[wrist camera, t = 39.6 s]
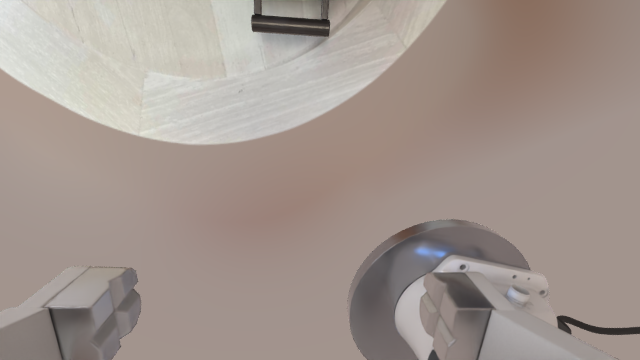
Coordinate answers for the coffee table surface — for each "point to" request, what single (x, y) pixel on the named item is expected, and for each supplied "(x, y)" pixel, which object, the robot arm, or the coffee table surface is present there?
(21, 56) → the coffee table surface
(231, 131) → the coffee table surface
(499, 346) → the robot arm
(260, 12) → the drawer
